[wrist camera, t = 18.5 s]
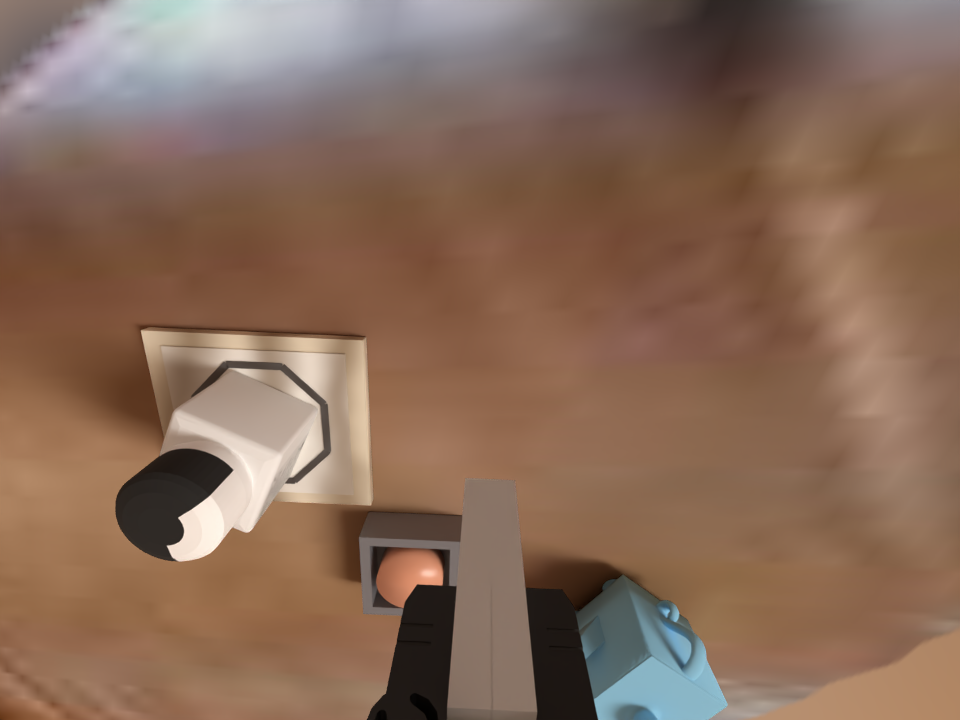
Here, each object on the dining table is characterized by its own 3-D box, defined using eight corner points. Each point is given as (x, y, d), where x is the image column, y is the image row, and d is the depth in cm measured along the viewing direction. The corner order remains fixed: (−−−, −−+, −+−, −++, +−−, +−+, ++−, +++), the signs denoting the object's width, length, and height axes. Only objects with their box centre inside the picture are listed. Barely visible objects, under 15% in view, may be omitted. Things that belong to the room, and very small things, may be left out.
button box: (462, 515, 44) (460, 541, 40) (459, 588, 47) (457, 618, 43) (368, 511, 44) (358, 537, 40) (372, 584, 47) (363, 613, 43)
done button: (445, 539, 43) (442, 559, 40) (444, 588, 45) (441, 610, 42) (381, 536, 43) (375, 555, 40) (383, 585, 45) (377, 607, 42)
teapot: (607, 528, 44) (645, 634, 33) (731, 619, 47) (802, 740, 37) (501, 622, 48) (505, 743, 38) (623, 699, 52) (658, 828, 41)
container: (207, 441, 40) (82, 548, 28) (232, 367, 38) (109, 450, 25) (290, 476, 41) (206, 594, 29) (320, 407, 39) (243, 504, 26)
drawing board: (366, 336, 38) (362, 341, 36) (373, 498, 43) (370, 507, 42) (149, 327, 38) (137, 331, 36) (183, 490, 43) (174, 498, 42)
